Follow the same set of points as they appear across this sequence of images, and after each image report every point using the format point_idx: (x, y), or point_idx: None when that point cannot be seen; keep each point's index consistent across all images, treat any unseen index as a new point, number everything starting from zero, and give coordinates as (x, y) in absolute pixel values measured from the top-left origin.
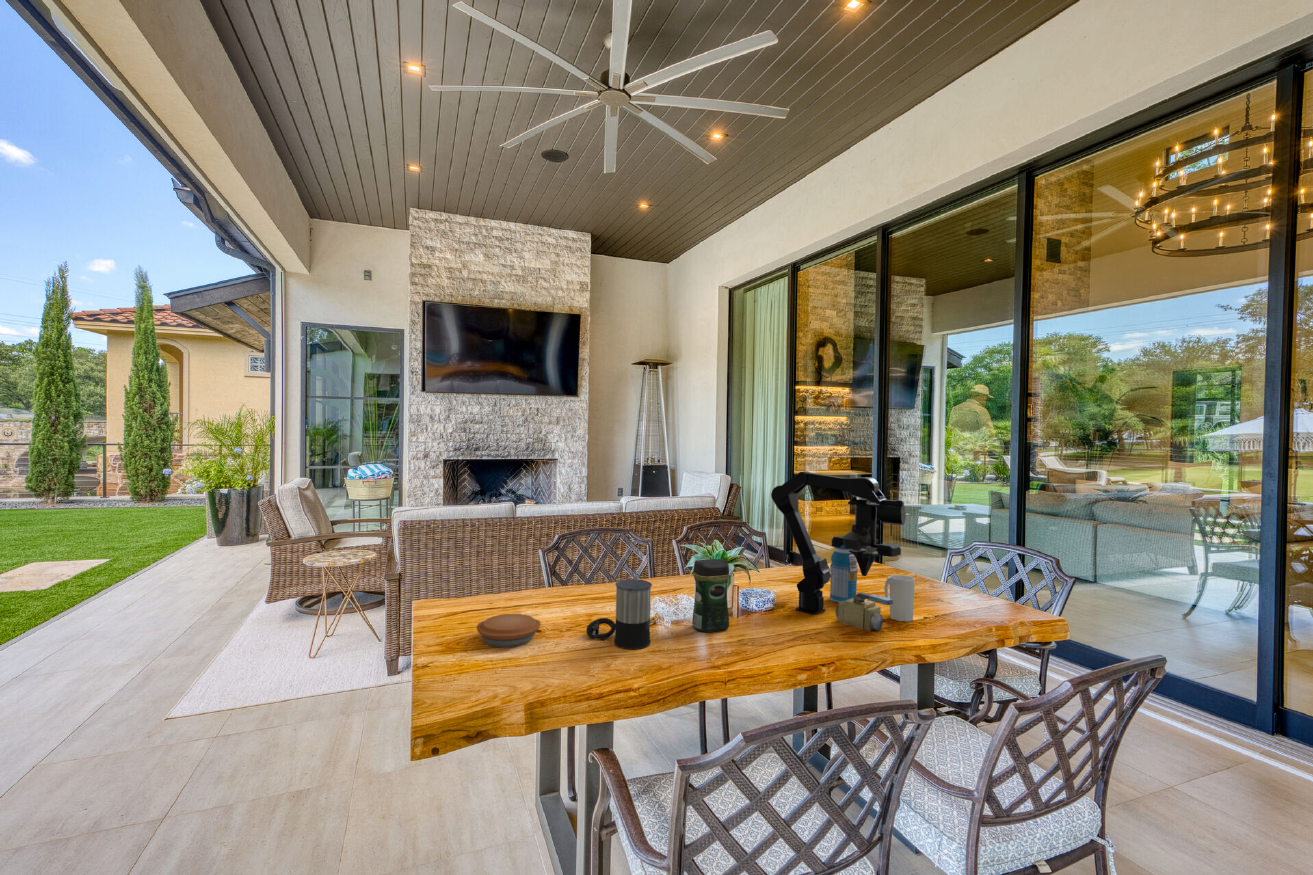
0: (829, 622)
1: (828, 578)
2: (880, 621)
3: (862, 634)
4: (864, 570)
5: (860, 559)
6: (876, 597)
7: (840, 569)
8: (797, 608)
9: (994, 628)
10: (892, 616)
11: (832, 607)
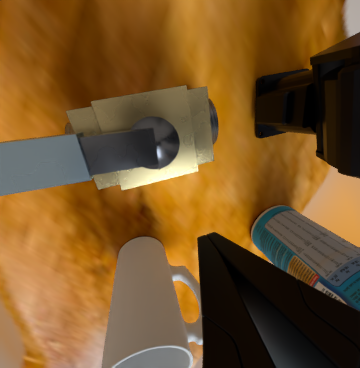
0: (194, 66)
1: (337, 150)
2: None
3: (67, 62)
4: (209, 262)
5: (332, 359)
6: (25, 143)
7: (345, 262)
8: (303, 69)
9: (30, 360)
10: (145, 239)
11: (260, 175)
